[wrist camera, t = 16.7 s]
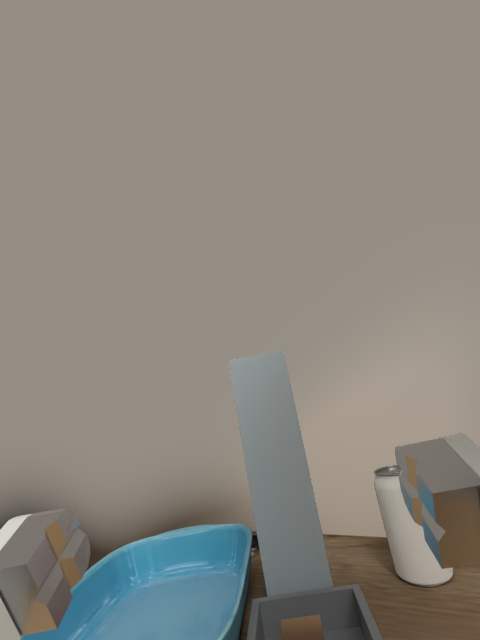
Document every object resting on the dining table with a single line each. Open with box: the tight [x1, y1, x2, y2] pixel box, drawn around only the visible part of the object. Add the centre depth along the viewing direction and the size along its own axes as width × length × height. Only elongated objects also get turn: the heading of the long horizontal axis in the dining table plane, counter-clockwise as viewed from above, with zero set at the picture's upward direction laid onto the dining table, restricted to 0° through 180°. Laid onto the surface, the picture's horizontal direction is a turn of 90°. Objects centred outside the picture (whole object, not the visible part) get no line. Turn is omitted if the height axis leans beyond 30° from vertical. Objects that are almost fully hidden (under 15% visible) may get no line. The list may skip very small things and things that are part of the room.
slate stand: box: [228, 350, 333, 597], centre depth 46 cm, size 7×16×29 cm, turn 174°
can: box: [374, 465, 453, 587], centre depth 43 cm, size 6×6×12 cm
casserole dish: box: [20, 524, 252, 640], centre depth 37 cm, size 37×22×7 cm, turn 175°
